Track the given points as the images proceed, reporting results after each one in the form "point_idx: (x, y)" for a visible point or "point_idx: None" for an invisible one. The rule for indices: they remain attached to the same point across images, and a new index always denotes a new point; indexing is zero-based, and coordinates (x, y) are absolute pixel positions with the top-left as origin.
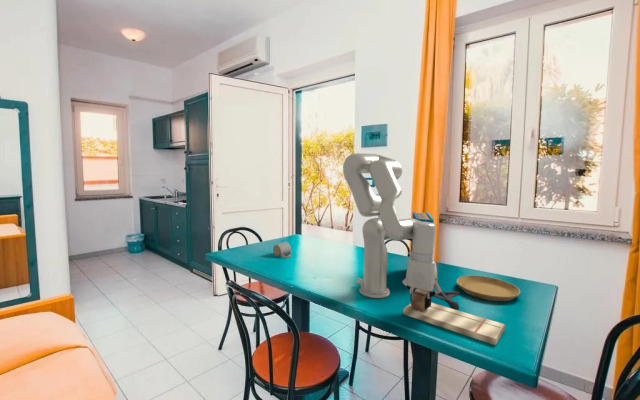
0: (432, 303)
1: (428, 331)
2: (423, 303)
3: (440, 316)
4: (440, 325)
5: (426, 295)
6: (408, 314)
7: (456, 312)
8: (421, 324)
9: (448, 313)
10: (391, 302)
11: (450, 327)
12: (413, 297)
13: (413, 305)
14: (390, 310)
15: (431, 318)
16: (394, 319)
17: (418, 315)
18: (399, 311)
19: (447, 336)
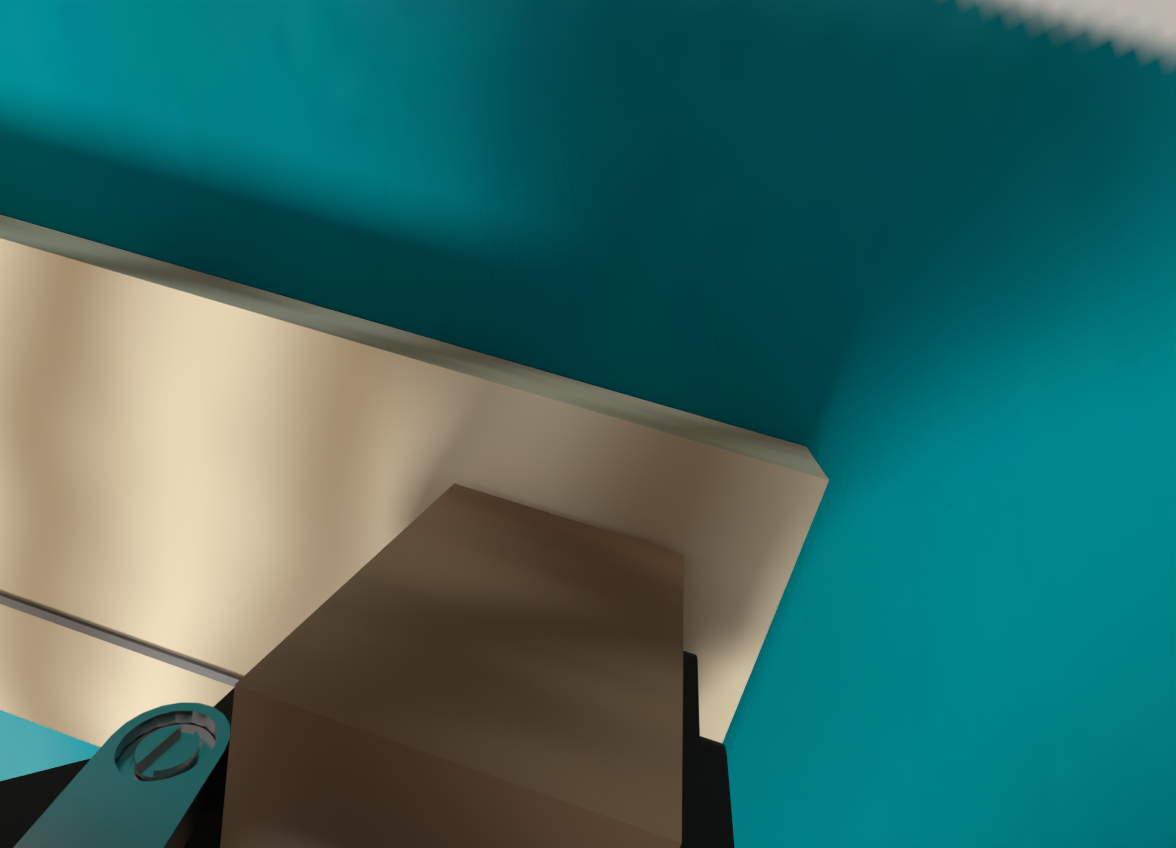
0: None
1: (314, 7)
2: (373, 573)
3: (184, 446)
4: (199, 276)
5: (193, 797)
6: (710, 425)
7: (57, 669)
8: (461, 207)
9: (125, 597)
10: (1061, 798)
11: (45, 235)
12: (617, 702)
13: (629, 569)
14: (1058, 496)
15: (289, 321)
16: (943, 152)
17: (523, 381)
18: (882, 521)
19: (59, 5)
